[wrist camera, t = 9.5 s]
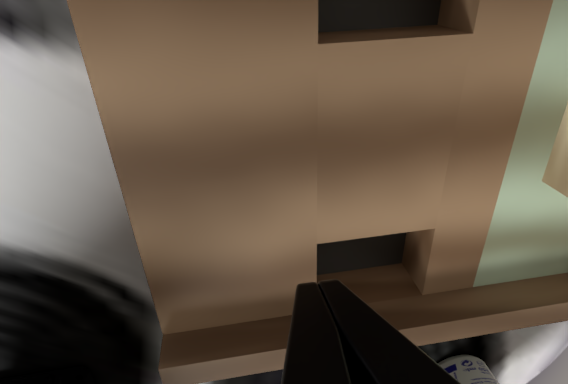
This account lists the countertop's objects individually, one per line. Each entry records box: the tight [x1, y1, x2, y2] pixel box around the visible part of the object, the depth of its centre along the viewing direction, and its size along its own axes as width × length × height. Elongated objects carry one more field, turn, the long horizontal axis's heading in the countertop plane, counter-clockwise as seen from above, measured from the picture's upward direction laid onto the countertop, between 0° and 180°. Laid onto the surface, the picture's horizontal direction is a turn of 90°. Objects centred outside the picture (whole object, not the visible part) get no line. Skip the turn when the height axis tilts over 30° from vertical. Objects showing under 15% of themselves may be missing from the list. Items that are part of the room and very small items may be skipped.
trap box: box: [67, 0, 568, 384], centre depth 17 cm, size 21×26×6 cm
